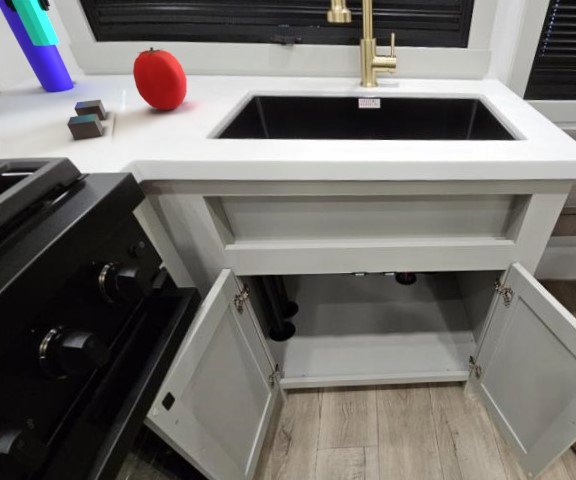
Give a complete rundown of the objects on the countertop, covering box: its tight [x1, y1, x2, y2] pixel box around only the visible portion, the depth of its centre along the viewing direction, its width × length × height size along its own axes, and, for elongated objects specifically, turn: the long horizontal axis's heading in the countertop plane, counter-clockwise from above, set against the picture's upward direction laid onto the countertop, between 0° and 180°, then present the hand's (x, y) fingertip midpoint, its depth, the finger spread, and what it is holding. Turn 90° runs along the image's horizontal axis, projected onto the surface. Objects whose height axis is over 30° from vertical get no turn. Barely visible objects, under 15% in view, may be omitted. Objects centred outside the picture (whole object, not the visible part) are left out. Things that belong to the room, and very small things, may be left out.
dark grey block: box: [66, 114, 104, 141], centre depth 68 cm, size 5×5×4 cm
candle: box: [12, 0, 60, 46], centre depth 81 cm, size 6×6×12 cm
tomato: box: [132, 46, 188, 111], centre depth 79 cm, size 12×12×13 cm
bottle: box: [0, 0, 74, 93], centre depth 90 cm, size 8×8×30 cm
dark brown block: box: [73, 99, 107, 121], centre depth 76 cm, size 5×5×4 cm
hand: (30, 10), depth 81 cm, fingers closed on candle, 6 cm apart
